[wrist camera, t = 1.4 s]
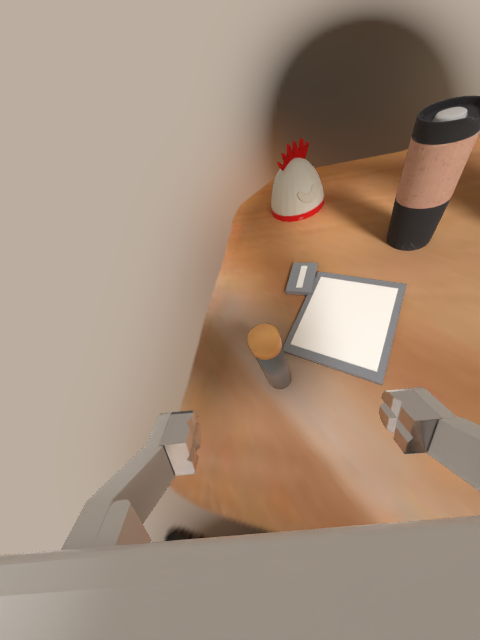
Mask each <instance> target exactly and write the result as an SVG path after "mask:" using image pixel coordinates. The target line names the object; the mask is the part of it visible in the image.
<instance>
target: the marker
mask: <svg viewBox="0 0 480 640" xmlns="http://www.w3.org/2000/svg"><path fill="white" fill-rule="evenodd" d="M247 342H248V345H249V347H250V349H251V351H252V352H253V354H254V355H255V356H256V358H257V360H258V362H259V364H260V366H261V368H262V369H263V371H264V373H265V375H266V377H267V379H268V381H269V382H270V384H271V385H272V386H273V387H274V388H277V389H283V388H285V387H287V386H288V385H289V384H290V382H291V374H290V371H289V368H288V364H287V361H286V358H285V354H284V351H283V348H282V342H281V338H280V335H279V332H278V330H277V329H276V328H275V327H274V326H272V325H270V324H260V325H257V326H255V327H254V328H253V329H252V330H251V331H250V332H249V334H248V337H247Z"/></svg>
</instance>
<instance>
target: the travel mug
mask: <svg viewBox="0 0 480 640" xmlns="http://www.w3.org/2000/svg"><path fill="white" fill-rule="evenodd" d="M479 133H480V96H463V97H455V98H451V99H447V100H443V101H439V102H436V103H434V104H431V105H429V106H427V107H426V108H424V109H423V110H422V111H420V112H419V114H418V116H417V119H416V122H415V126H414V130H413V134H412V137H411V141H410V145H409V149H408V152H407V156H406V160H405V164H404V167H403V171H402V175H401V179H400V182H399V186H398V190H397V194H396V198H395V202H394V207H393V212H392V216H391V221H390V225H389V230H388V235H387V242H388V244H389V245H390V246H392V247H394V248H396V249H399V250H416V249H420V248H422V247H424V246H426V245H427V244H428V243H429V241H430V239H431V237H432V235H433V233H434V231H435V229H436V227H437V225H438V223H439V221H440V219H441V217H442V215H443V213H444V211H445V209H446V207H447V205H448V203H449V201H450V199H451V197H452V194H453V192H454V190H455V188H456V185H457V183H458V181H459V178H460V176H461V174H462V172H463V169H464V167H465V165H466V162H467V160H468V158H469V156H470V153H471V151H472V149H473V146H474V144H475V142H476V140H477V137H478V135H479Z"/></svg>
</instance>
